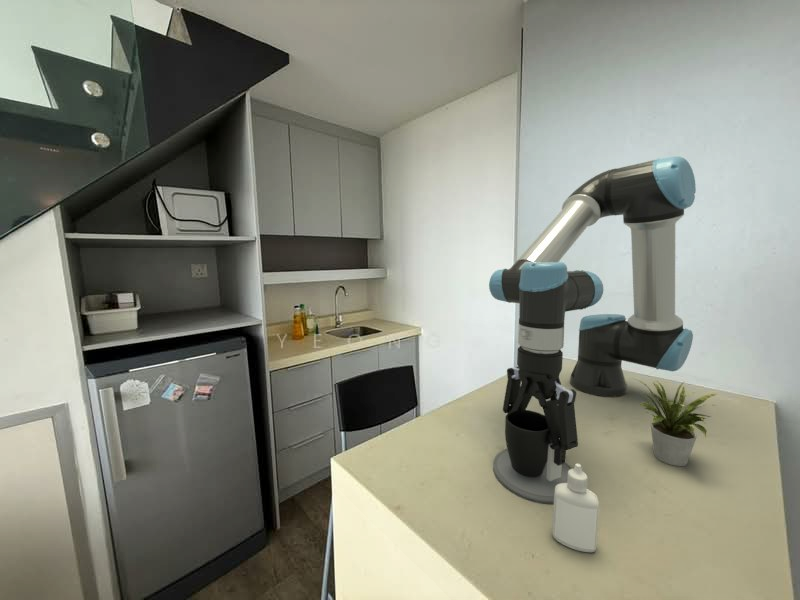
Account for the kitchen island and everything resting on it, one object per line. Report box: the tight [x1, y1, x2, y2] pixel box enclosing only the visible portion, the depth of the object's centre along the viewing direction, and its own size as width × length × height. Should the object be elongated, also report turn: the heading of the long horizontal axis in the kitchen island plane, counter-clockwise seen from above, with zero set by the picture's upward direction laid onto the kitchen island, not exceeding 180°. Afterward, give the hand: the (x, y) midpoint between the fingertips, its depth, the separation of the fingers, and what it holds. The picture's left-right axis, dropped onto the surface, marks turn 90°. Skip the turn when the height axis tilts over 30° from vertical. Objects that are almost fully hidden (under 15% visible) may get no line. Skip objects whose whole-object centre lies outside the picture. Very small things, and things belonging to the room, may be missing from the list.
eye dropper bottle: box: [551, 463, 600, 553], centre depth 46 cm, size 4×6×12 cm
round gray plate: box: [492, 448, 573, 505], centre depth 61 cm, size 15×15×1 cm
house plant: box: [631, 377, 718, 467], centre depth 65 cm, size 14×14×16 cm
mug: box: [504, 409, 552, 477], centre depth 60 cm, size 8×12×10 cm
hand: (534, 463), depth 61 cm, fingers closed on mug, 8 cm apart
